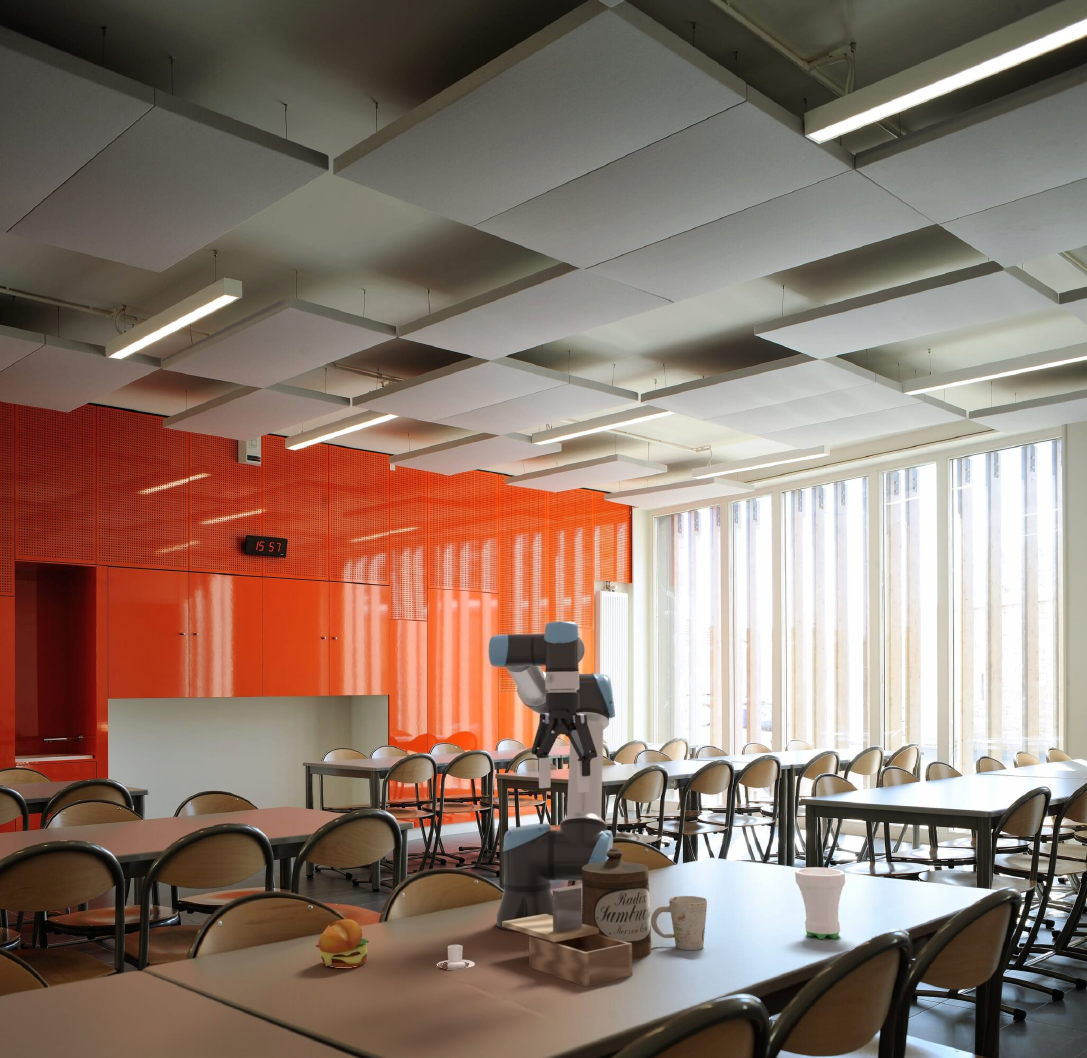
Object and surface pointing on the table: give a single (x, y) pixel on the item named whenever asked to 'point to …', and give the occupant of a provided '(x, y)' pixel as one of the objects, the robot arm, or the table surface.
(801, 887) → the cup
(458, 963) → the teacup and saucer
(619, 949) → the box
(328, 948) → the cheeseburger
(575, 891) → the lid
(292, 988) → the table surface
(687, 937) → the mug
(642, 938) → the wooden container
